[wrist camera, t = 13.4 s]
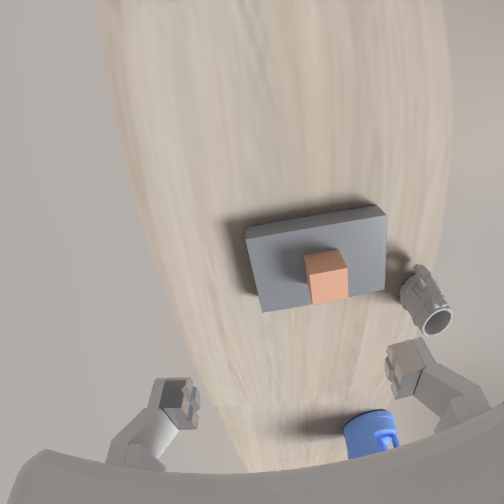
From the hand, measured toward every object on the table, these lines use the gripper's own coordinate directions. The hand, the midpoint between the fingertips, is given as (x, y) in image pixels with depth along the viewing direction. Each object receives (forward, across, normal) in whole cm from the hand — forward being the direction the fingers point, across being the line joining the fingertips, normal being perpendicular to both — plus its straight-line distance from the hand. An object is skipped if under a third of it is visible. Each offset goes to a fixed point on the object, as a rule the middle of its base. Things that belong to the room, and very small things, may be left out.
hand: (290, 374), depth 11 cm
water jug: (+33, -18, +76) cm, 85 cm away
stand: (+33, -6, +14) cm, 37 cm away
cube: (+29, -6, +14) cm, 33 cm away
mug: (+33, -24, +24) cm, 48 cm away
